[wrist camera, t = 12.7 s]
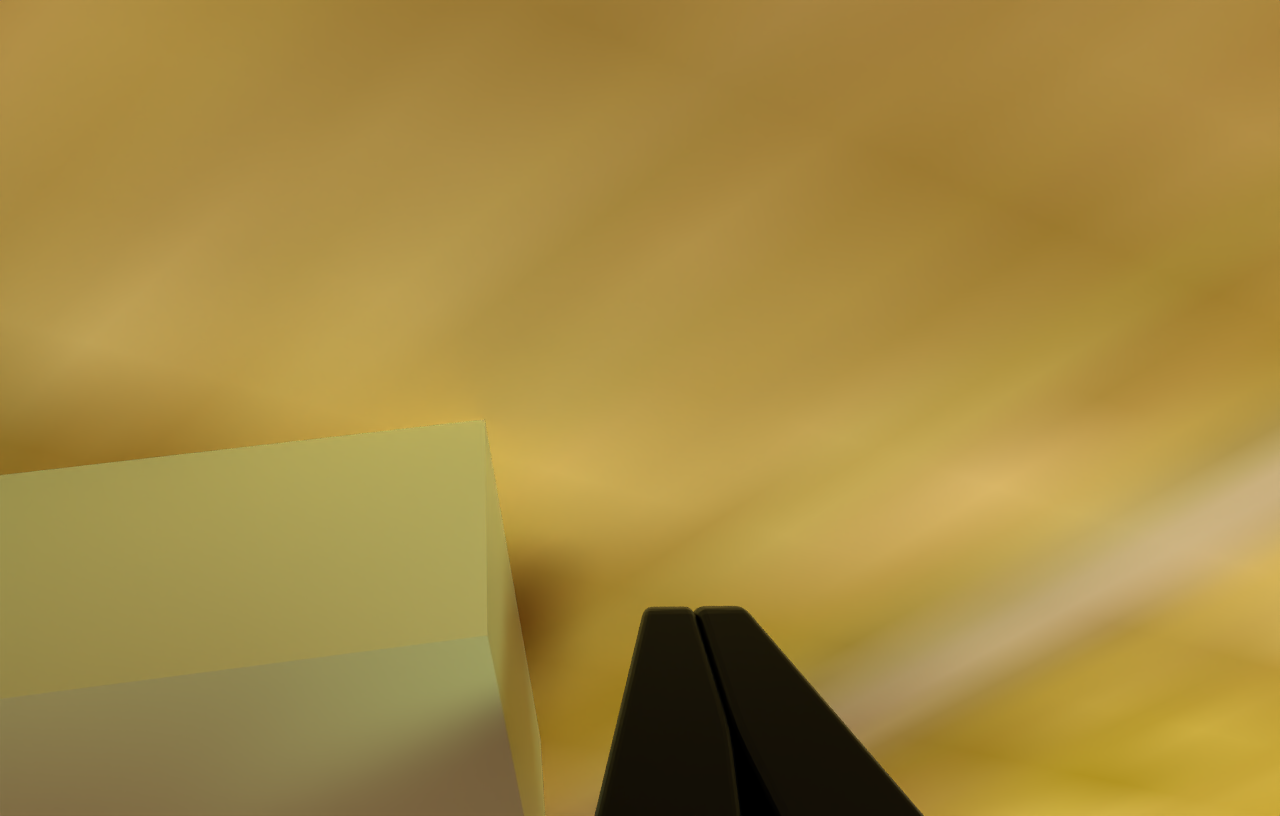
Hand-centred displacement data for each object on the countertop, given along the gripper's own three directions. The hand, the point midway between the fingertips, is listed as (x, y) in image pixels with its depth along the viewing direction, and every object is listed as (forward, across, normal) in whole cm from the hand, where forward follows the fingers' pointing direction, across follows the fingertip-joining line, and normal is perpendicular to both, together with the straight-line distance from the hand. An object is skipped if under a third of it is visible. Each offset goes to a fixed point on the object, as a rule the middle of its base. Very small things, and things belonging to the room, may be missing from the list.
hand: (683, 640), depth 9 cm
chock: (+3, +4, +2) cm, 5 cm away
